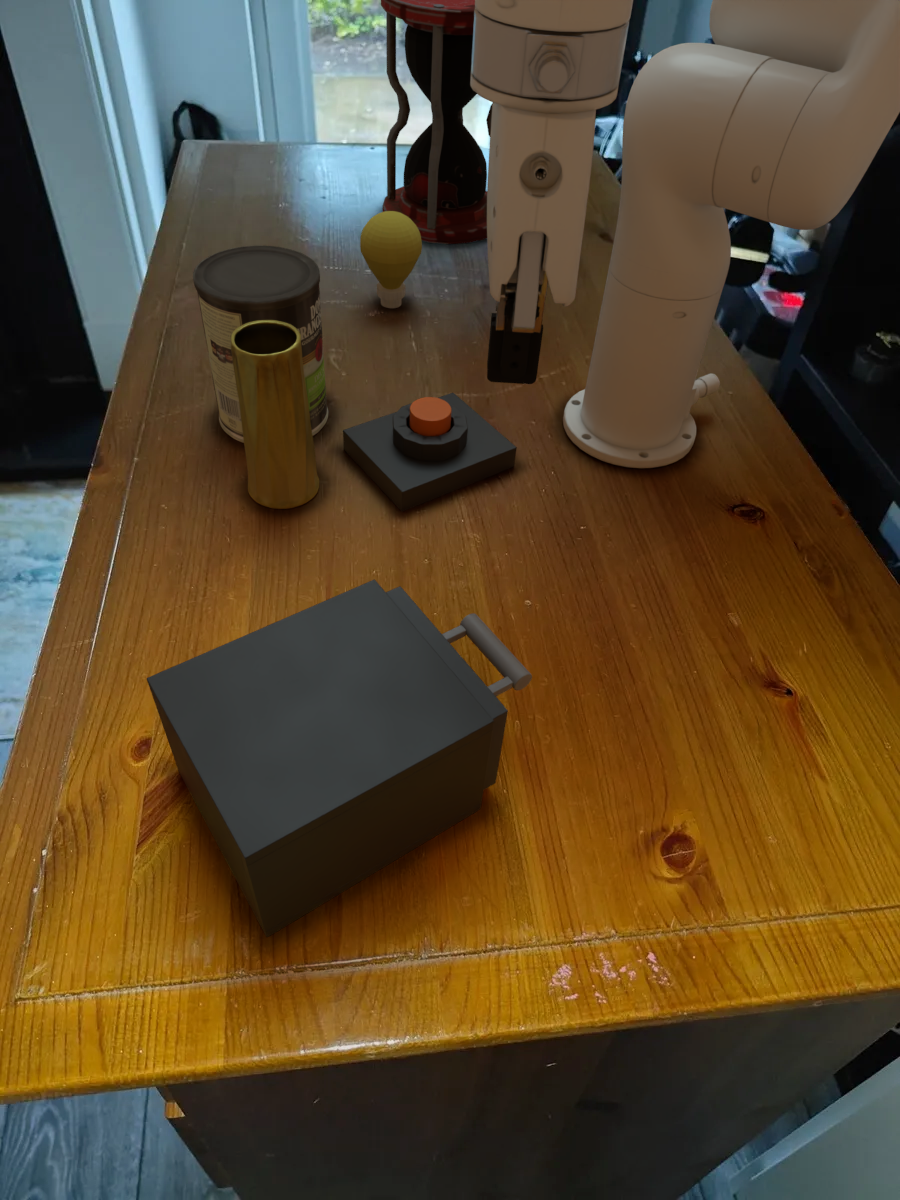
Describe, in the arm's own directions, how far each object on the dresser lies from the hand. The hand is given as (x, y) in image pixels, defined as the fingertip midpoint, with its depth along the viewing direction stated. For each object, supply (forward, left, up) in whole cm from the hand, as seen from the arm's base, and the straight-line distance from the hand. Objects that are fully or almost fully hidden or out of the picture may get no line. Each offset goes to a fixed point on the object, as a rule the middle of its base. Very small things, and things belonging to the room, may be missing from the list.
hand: (510, 375), depth 56 cm
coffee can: (+6, -27, -17) cm, 32 cm away
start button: (-3, -14, -13) cm, 19 cm away
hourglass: (-33, -56, -17) cm, 67 cm away
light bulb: (-15, -40, -17) cm, 46 cm away
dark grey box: (+21, +11, -17) cm, 29 cm away
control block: (-3, -14, -17) cm, 22 cm away
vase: (+10, -17, -17) cm, 26 cm away
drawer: (+17, +11, -16) cm, 26 cm away
